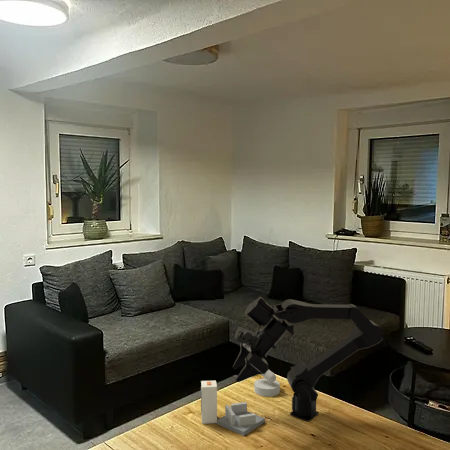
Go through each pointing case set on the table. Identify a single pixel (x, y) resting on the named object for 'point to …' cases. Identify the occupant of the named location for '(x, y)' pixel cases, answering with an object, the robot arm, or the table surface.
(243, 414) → the plate
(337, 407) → the table surface
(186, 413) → the table surface
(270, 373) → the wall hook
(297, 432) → the table surface
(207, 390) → the white block orange patch
